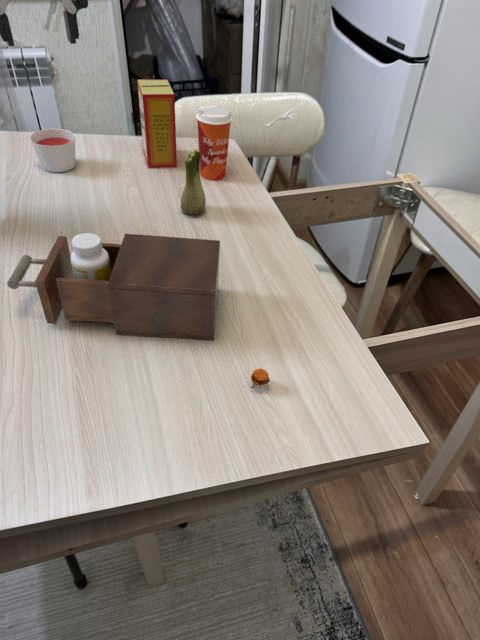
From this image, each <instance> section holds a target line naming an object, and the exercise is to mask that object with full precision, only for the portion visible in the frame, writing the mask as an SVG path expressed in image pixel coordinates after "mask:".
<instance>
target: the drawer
mask: <svg viewBox="0 0 480 640" xmlns="http://www.w3.org/2000/svg"><path fill="white" fill-rule="evenodd" d="M121 244H122V243H110V242H102V248H103V249H105V250H106V251H107V253H108V255H109V260H110V266H111V272H112V270H113V267H114V265H115V262H116V259H117V256H118V253H119V250H120V247H121ZM70 258H71V250H70V247H69V242H68V238H67V236H66V235H58V236H57V238H56V239H55V242H54V243H53V245H52V247H51V249H50V251H49V253H48V255H47V257H46V259H45V258H44V259H43V258H32V257H31V256H30V255H28V254H24V255H22V257H21V258H20V260H19V262H18V263H17V265H16V267H15V268H14V270H13V272H12V274H11V275H10V277H9V278H8V281H7V282H6V284H7V287H8V288H10V289H11V290H17V289H18V288H19V287H24V288H25V287H27V288H36V291H37V293H38V297H39V300H40V304H41V308H42V311H43V314H44V317H45V320H46V323H47V324H49V325H50V324H51V325H56V324H57V322H58V320H59V317H60V315H61V312H62V310H63V314H64V318H65V320H66V321H77V322H78V321H79V322H80V321H81V322H82V321H83V322H95V323H111V324H112V323H113V324H114V318H113V312H112V306H111V300H110V294H109V288H108V282H109V281H103V280H88V279H75V278H74V273H73V269H72V265H71V259H70ZM31 265H42V267H41V269H40V271H39V272H38V275H37V276H36V278H35V280H34V281H33V280H32V281H30V280H29V281H28V280H23V279H24V278H25V276H26V274H27V272H28V270H29V269H30V267H31Z"/></svg>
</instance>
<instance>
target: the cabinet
mask: <svg viewBox="0 0 480 640" xmlns="http://www.w3.org/2000/svg"><path fill="white" fill-rule="evenodd" d="M120 244H121V247H120V250H119V253H118V256H117V259H116V262H115V265H114V267H113V270H112V273H111V276H110V279H109V282H108V288H109V294H110V300H111V306H112V312H113V318H114V323H113V324H114V329H115V335H117V336H133V337H149V338H151V337H152V338H165V339H166V338H168V339H182V340H199V341H214V340H215V333H216V321H217V320H216V319H217V310H218V309H217V308H218V307H217V306H218V295H219V277H220V276H219V275H220V253H221V252H220V251H221V240H218V239H217V240H216V239H203V238H192V237H177V236H165V235H164V236H162V235H151V234H150V235H149V234H137V233H136V234H135V233H124V236H123V239H122V241H121V243H120Z"/></svg>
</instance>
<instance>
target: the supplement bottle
mask: <svg viewBox="0 0 480 640" xmlns="http://www.w3.org/2000/svg"><path fill="white" fill-rule="evenodd" d="M101 238H102V237H100V235H98V234H96V233H92V232H83V233H79V234H77V235H75V236H74V237H73V238H72V239H71V245H72V250H73V251H72V253H70V255H71V258H70V259H71V265H72V269H73V273H74V278H75V279H88V280H103V281H109V279H110V276H111V273H112V272H111V266H110V260H109V255H108V253H107V251H106V250H105V249H103V248H102V243H103V242H102V239H101Z"/></svg>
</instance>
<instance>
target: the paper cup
mask: <svg viewBox="0 0 480 640" xmlns="http://www.w3.org/2000/svg"><path fill="white" fill-rule="evenodd" d="M230 111H231V110H229V109H228V108H227V107H224V106H221V105H217V104H216V105H215V104H207V105H202V106H200V107H198V109H197V113H196V114H195V118H196V119H197V140H198V141H197V142H198V150H200V177H202V178H203V179H205V180H208V181H220V180H223V179H224V178H225V176H226V171H227V163H228V162H227V161H228V152H229V141H230V131H231V122H232V121H233V116H232V112H230Z"/></svg>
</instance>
